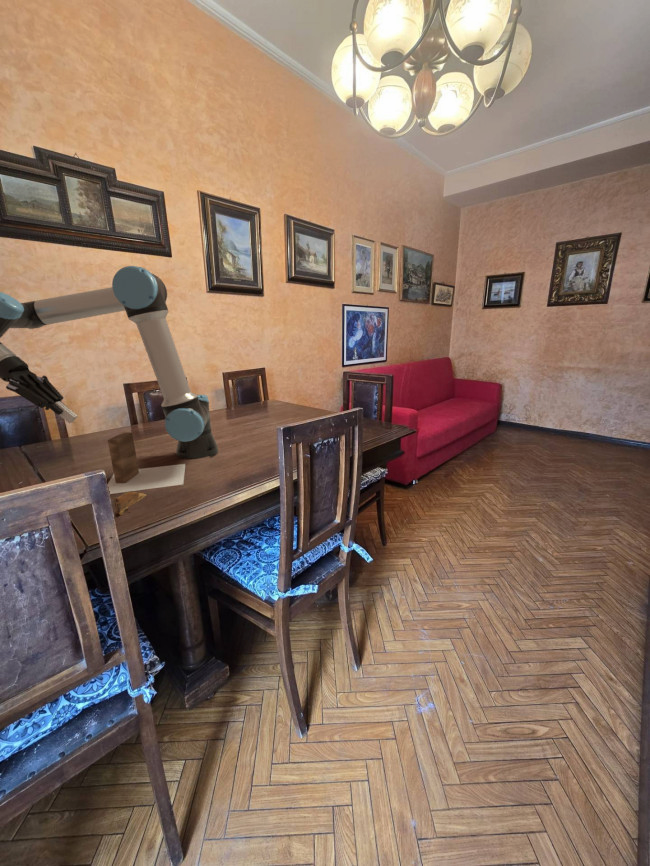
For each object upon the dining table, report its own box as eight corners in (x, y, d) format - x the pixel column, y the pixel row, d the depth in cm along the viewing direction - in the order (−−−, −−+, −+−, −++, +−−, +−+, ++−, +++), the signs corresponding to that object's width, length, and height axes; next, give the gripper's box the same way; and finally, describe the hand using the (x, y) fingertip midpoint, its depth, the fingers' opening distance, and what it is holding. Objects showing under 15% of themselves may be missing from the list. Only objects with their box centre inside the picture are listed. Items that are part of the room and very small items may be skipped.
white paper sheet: (185, 465, 123) (185, 463, 123) (183, 486, 107) (183, 484, 107) (115, 473, 116) (114, 471, 116) (101, 497, 100) (101, 495, 100)
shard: (119, 517, 90) (118, 511, 90) (95, 514, 92) (93, 508, 91) (148, 498, 100) (147, 493, 100) (126, 496, 102) (125, 490, 102)
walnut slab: (115, 483, 108) (107, 440, 104) (130, 472, 115) (123, 432, 111) (125, 483, 108) (117, 440, 104) (139, 472, 115) (132, 432, 111)
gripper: (18, 370, 109) (81, 422, 113) (-23, 376, 96) (50, 434, 101) (30, 353, 107) (94, 406, 112) (-10, 356, 95) (64, 416, 99)
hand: (73, 419), depth 106 cm, fingers closed
